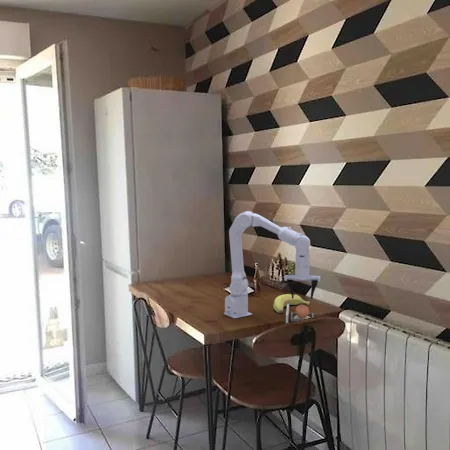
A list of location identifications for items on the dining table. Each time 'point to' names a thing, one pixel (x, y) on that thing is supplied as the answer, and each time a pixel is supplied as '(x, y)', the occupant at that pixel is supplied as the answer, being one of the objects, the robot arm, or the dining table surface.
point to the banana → (287, 301)
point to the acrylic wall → (287, 313)
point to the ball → (302, 311)
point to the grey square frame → (299, 317)
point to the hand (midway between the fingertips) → (302, 298)
